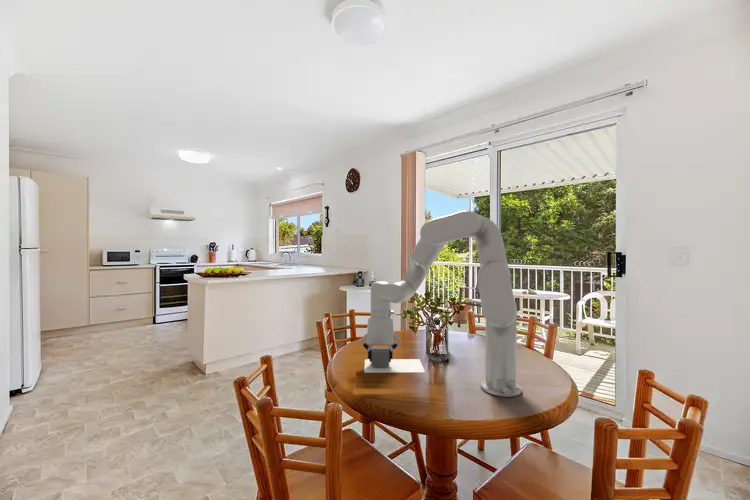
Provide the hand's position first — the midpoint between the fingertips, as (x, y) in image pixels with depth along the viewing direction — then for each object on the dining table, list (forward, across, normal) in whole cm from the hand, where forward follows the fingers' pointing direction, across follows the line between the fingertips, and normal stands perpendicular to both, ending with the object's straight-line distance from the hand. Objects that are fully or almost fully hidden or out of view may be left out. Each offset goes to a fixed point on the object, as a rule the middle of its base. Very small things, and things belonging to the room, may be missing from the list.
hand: (380, 360), depth 128 cm
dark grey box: (+1, 0, 0) cm, 1 cm away
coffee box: (+4, -25, -16) cm, 30 cm away
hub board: (+3, -5, 0) cm, 6 cm away
